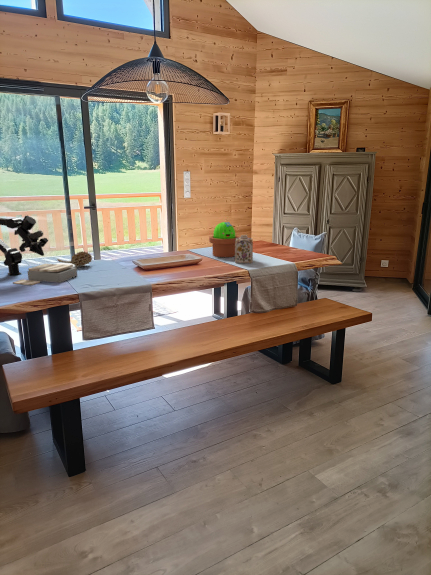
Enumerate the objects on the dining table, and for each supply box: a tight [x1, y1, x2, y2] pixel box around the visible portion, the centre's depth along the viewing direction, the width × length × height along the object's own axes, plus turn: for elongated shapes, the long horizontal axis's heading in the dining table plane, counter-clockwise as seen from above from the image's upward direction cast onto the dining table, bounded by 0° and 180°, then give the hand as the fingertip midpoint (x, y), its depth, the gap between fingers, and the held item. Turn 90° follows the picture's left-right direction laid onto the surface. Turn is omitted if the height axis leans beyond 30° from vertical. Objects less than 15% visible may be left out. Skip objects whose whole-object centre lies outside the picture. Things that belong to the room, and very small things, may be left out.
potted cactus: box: [208, 221, 241, 258], centre depth 303 cm, size 22×22×25 cm
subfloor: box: [27, 263, 78, 283], centre depth 243 cm, size 22×16×6 cm
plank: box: [12, 278, 42, 286], centre depth 233 cm, size 13×7×1 cm, turn 71°
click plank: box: [39, 263, 74, 272], centre depth 241 cm, size 13×14×1 cm
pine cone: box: [56, 251, 93, 268], centre depth 270 cm, size 22×10×10 cm, turn 111°
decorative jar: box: [234, 234, 254, 264], centre depth 283 cm, size 12×12×18 cm
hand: (43, 255), depth 242 cm, fingers closed
